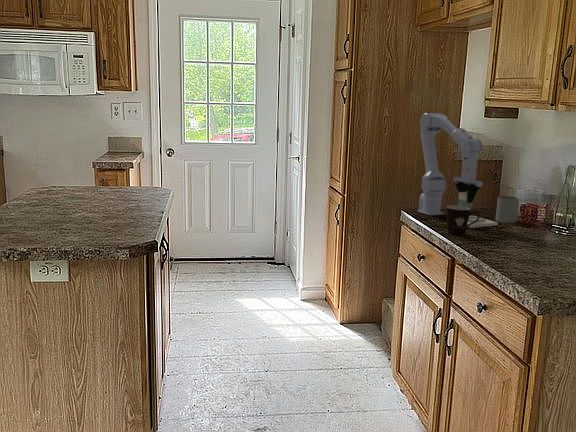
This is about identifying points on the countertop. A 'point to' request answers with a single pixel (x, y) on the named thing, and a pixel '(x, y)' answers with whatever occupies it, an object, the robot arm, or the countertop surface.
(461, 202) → the block
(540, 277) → the countertop surface
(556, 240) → the countertop surface
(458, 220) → the coffee mug
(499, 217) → the cup
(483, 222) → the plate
